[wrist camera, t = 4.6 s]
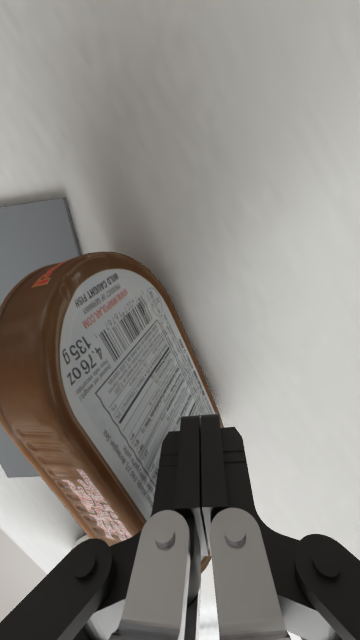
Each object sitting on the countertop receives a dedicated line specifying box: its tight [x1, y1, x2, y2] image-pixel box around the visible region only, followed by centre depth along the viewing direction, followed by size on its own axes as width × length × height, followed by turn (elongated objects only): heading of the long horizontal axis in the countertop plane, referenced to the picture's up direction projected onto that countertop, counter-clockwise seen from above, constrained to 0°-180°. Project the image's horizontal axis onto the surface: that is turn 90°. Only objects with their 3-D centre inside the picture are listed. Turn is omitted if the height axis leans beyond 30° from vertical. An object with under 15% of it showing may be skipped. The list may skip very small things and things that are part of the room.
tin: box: [0, 252, 224, 573], centre depth 13 cm, size 15×3×8 cm, turn 22°
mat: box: [0, 198, 81, 478], centre depth 17 cm, size 18×10×1 cm, turn 8°
